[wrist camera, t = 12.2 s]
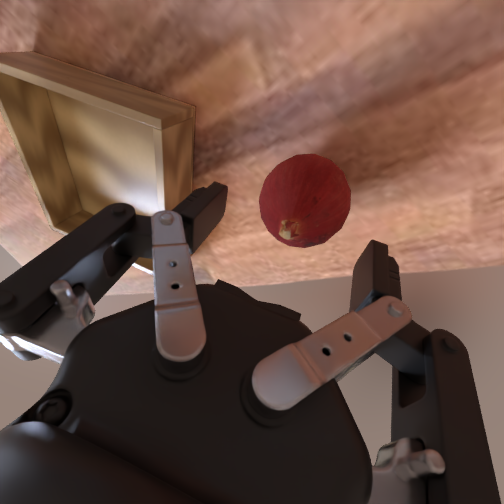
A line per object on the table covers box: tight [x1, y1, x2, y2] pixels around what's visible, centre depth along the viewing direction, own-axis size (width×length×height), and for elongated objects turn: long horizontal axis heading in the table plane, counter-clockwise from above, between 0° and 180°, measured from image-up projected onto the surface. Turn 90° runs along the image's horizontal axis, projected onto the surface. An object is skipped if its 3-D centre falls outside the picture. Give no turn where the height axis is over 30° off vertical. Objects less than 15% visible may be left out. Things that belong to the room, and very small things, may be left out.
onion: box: [259, 154, 351, 248], centre depth 17 cm, size 6×6×8 cm
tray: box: [0, 51, 195, 275], centre depth 25 cm, size 16×15×4 cm
